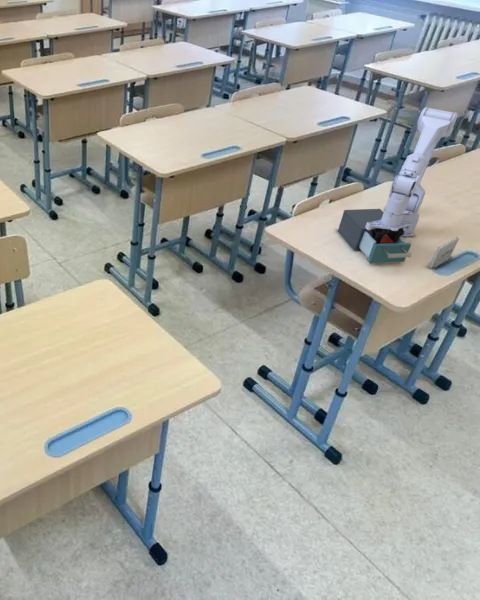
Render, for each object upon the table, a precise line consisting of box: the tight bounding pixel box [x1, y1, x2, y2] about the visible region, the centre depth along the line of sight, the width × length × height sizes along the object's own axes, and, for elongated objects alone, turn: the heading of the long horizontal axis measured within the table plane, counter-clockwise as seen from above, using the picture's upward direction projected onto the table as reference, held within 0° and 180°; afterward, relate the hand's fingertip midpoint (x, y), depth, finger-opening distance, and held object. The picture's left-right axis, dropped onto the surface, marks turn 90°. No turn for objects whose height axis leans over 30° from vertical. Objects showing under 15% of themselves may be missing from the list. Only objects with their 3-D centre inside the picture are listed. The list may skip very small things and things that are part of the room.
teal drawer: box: [358, 230, 412, 264], centre depth 184 cm, size 17×12×7 cm
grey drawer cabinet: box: [337, 208, 389, 252], centre depth 193 cm, size 14×13×9 cm
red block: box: [379, 234, 394, 244], centre depth 185 cm, size 4×5×5 cm
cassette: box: [428, 236, 460, 269], centre depth 182 cm, size 12×2×8 cm, turn 124°
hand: (380, 247), depth 186 cm, fingers closed on red block, 4 cm apart
